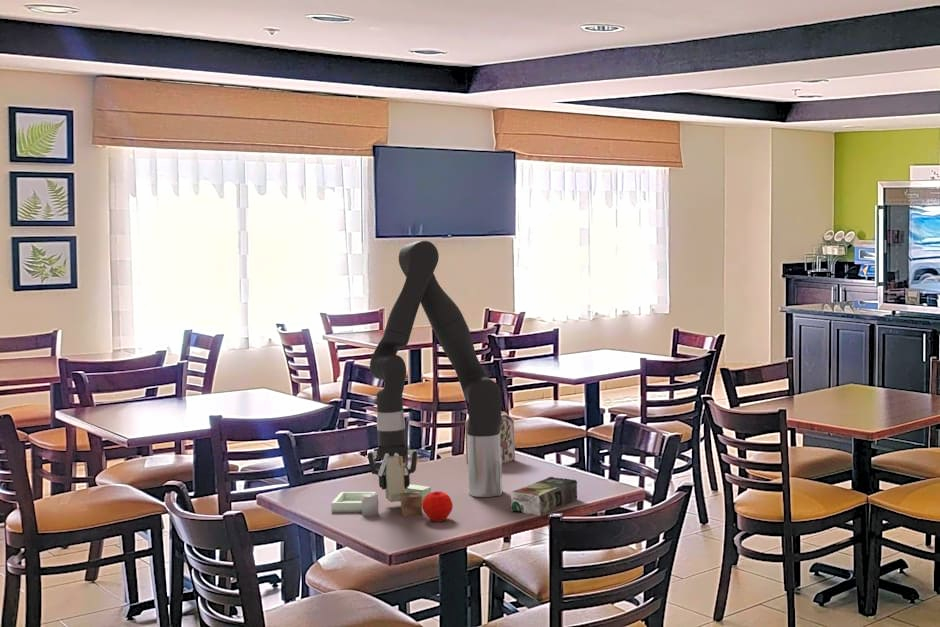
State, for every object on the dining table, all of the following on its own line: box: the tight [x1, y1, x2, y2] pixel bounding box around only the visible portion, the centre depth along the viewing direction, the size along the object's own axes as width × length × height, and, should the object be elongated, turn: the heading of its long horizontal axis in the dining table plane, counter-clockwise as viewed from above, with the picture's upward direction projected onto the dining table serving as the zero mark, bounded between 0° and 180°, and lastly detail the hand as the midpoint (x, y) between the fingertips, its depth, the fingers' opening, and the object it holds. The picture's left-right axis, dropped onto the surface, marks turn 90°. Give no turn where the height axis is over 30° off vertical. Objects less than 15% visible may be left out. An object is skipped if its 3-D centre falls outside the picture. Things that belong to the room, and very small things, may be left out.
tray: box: [330, 491, 377, 513], centre depth 290 cm, size 10×12×2 cm
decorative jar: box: [464, 410, 516, 464], centre depth 341 cm, size 12×12×18 cm
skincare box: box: [384, 456, 405, 503], centre depth 287 cm, size 6×4×12 cm
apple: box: [422, 490, 454, 522], centre depth 273 cm, size 8×8×7 cm
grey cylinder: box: [361, 493, 380, 517], centre depth 281 cm, size 4×4×5 cm
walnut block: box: [400, 492, 423, 517], centre depth 281 cm, size 5×5×5 cm
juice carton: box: [510, 476, 578, 516], centre depth 284 cm, size 20×10×6 cm, turn 143°
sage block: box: [405, 483, 432, 502], centre depth 294 cm, size 8×4×4 cm, turn 56°
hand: (394, 488), depth 287 cm, fingers closed on skincare box, 5 cm apart
